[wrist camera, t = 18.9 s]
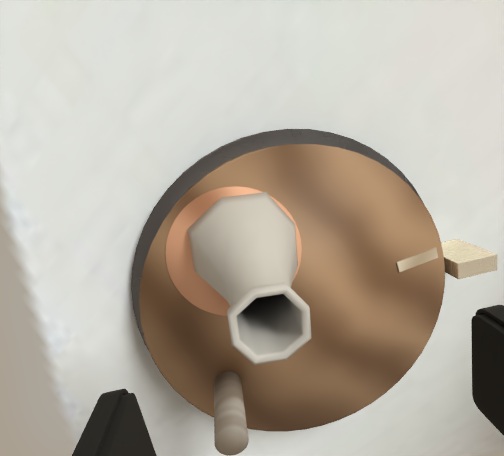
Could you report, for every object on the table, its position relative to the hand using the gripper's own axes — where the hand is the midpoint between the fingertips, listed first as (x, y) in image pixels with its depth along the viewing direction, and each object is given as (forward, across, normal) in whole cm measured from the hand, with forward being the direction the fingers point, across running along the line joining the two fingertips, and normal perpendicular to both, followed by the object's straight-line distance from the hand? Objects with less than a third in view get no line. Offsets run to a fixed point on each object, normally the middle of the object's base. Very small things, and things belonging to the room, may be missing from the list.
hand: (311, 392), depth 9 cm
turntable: (+16, -2, +5) cm, 17 cm away
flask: (+14, +1, 0) cm, 14 cm away
